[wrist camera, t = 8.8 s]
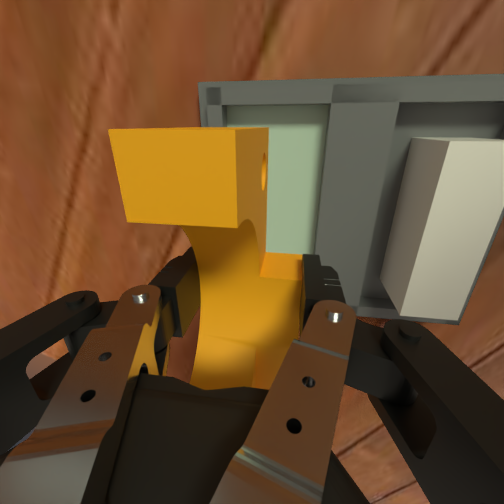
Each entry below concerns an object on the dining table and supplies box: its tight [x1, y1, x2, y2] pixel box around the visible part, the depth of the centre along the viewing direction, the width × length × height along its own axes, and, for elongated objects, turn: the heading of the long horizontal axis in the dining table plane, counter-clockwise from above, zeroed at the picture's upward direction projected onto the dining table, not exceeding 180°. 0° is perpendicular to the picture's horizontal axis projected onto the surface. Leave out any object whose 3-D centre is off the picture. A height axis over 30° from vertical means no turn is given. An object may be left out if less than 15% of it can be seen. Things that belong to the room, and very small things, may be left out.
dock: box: [198, 74, 504, 325], centre depth 19 cm, size 22×18×6 cm
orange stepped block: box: [108, 127, 302, 390], centre depth 10 cm, size 12×4×6 cm, turn 0°
